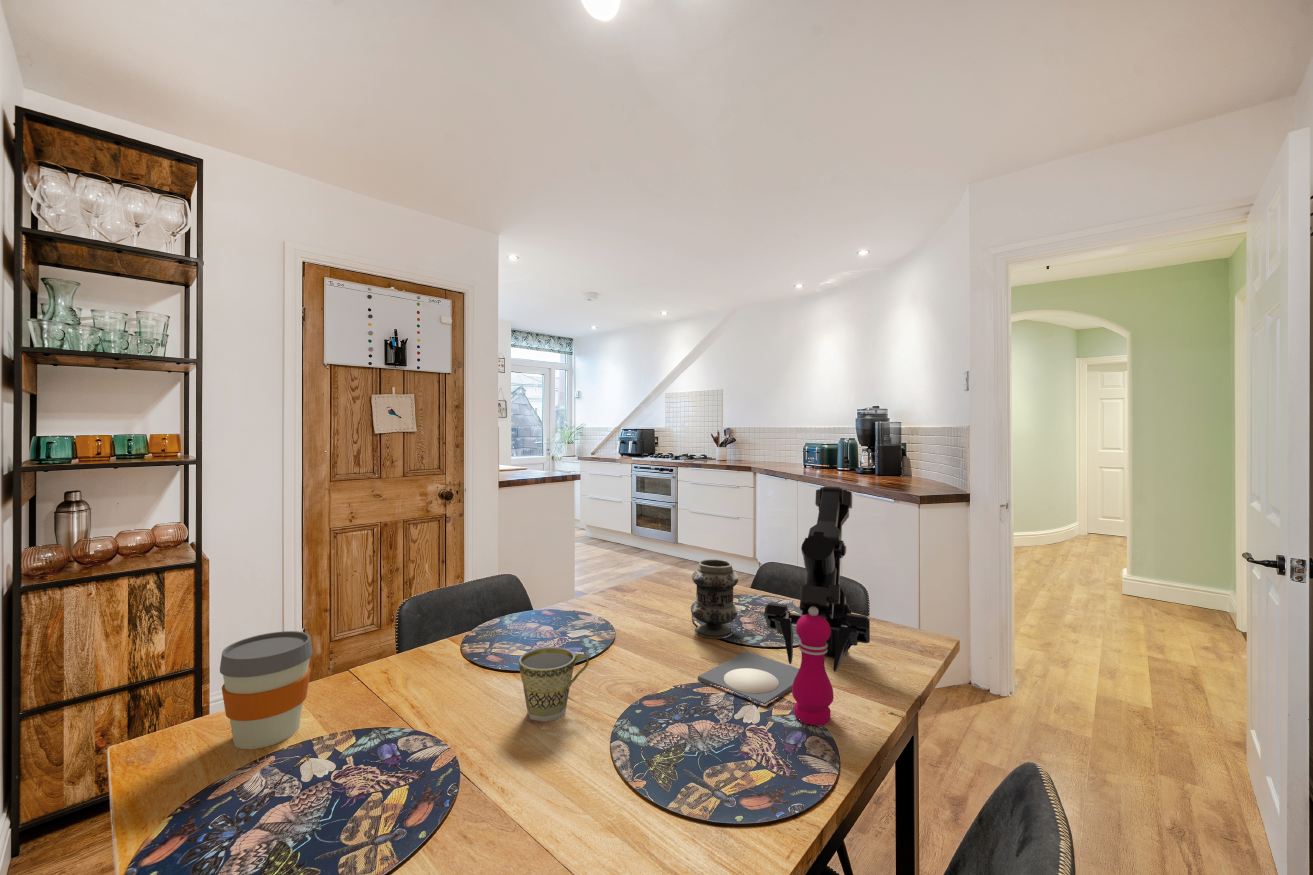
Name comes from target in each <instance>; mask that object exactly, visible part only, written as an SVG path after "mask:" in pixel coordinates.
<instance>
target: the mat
mask: <svg viewBox="0 0 1313 875" xmlns="http://www.w3.org/2000/svg"><path fill="white" fill-rule="evenodd" d="M799 668H800V667H799ZM799 668H798V667H795V666H792V665H791V664H787V663H784V662H780V661H778V660H775V659H772V658H768V657H766V656H762V655H760V654H756V653H755V652H750V651H747V650H746V651H744V652H742V653H740V654H738V655H736V656H734V657H733V658H731V659H729V660H727V661H725V662H723V663H721V664H719V665H717V666H715V667H713V668H711V669H709V670H706V671H705V672H703V673H701V674H699V675H697V680H698V681H699V682H702V683H704V684H706V685H709V684H712V685H716V686H720V687H723V688H726V689H729V690H731V691H734V692H736V693H739V694H742V695H744V696H747V697H750V698H752V699H754V700H756V701H759V702H761V703H763V704H766V703H767V702H769V701H771V700H773V699H775V698H777V697H779V698H780V697H783V696H784V695H785V694H787V693H788V692H790V691H792V686H793V682H794V679H795V677H796V675H797V673H798V671H799ZM712 685H711V686H712Z"/></svg>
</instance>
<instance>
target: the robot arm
mask: <svg viewBox="0 0 1313 875" xmlns="http://www.w3.org/2000/svg"><path fill="white" fill-rule="evenodd" d="M814 502H815V504H814V505H815V506H816V507H818V515H817V520H816V524H814V525H813V526H811V527H810V528H809V530H808V534H807V535H808V536H807V537H805V538H804V539H803V542H802V545H801V554H802V557H803V563H804V569H805V571H806V576H805V582H804V584H802V585H800V598H799V610H800V611H801V613H797V612H790V611H789V610H788V606H787V605H788V604H782V603H773V602H769V603H767V604H766V605H765V607H764V614H763V616H764V619H765V622H766V623H765V624H766V626H767V628H768V629H770V630H774V631H775V630H776V632H777V634H779V635H782V636H783V639H784V643H785V649H786V654H787V660H788V665H791V664H792V662H793V658H794V657H793V656H794V652H793V650H794V632H793V625H797V622H798V620H799V618H800V617H801V616H803V615H806V614H809V612H808V610H809V608H810V607H812V606H815V607H816V608H817V609H818V611H819V613H818V615H820V616H822V617H824V618H825V619H826V620H827V621H828V623H829V625H830V629H831V634H830V638H829V639H828V640H827V641H826V643H827V644H828V646H827V650H828V651H827V653H826V654H825V657H829V658H831V659H833V667H832V670H833V673H836V672H837V670H838V669H839V666H840V664H841V663H842V661H843V659H844V657H845V655H846V654H847V653H848V652H849V650H850V648H851V647H852V646H855V647H856V646H858V643H862V644H868V643H870V642H871V620H870V618H869V617H868V616H867V615H864V614H855V613H852V609H850V607H849V604H848V603H847V598H846V595H845V593H844V591H843V589H842V587H841V586H840V585H841V584H840V580H841V559H843V558H844V557H845V556H846V554H847V546H846V545H845V542H844V540H842V535H843V534H842V533H843V532H842V531H843V526H844V524H845V523H846V521H847V520H848V519H849V516H850V510H851V509H853V493H852V491H849V490H848V489H844V488H843V487H840V486H827V485H826V486H825V485H824V486H822V487H820V488H819V489H816V490H815V500H814Z"/></svg>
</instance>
